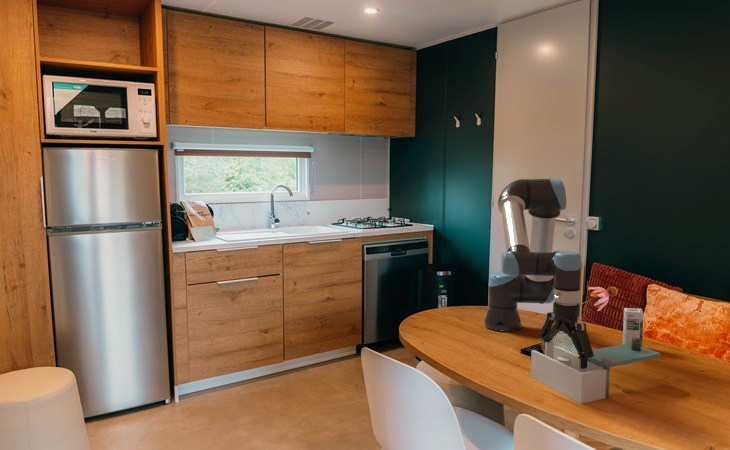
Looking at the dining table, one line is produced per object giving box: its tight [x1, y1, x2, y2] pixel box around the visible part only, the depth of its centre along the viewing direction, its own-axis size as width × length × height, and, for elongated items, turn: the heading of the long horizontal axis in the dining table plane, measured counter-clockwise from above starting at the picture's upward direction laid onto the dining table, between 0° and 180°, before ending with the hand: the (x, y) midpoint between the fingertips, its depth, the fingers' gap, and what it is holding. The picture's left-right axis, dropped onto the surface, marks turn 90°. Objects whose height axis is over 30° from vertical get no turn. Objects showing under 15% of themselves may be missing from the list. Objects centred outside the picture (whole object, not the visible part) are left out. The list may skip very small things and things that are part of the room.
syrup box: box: [622, 307, 644, 347], centre depth 191 cm, size 6×6×14 cm
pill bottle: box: [557, 356, 572, 368], centre depth 160 cm, size 5×5×8 cm
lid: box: [582, 337, 661, 369], centre depth 158 cm, size 11×22×5 cm, turn 112°
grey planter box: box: [530, 345, 611, 405], centre depth 158 cm, size 11×22×9 cm, turn 22°
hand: (564, 369), depth 160 cm, fingers open, 13 cm apart
